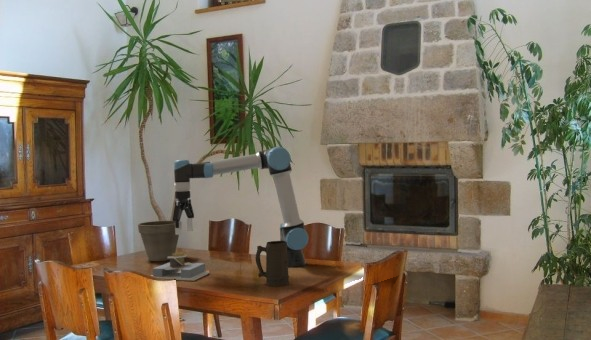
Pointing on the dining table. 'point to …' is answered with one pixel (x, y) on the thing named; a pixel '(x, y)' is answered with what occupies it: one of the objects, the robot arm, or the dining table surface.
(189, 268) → the tray with grey blocks
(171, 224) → the plant pot
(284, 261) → the beer stein
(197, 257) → the dining table surface
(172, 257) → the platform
